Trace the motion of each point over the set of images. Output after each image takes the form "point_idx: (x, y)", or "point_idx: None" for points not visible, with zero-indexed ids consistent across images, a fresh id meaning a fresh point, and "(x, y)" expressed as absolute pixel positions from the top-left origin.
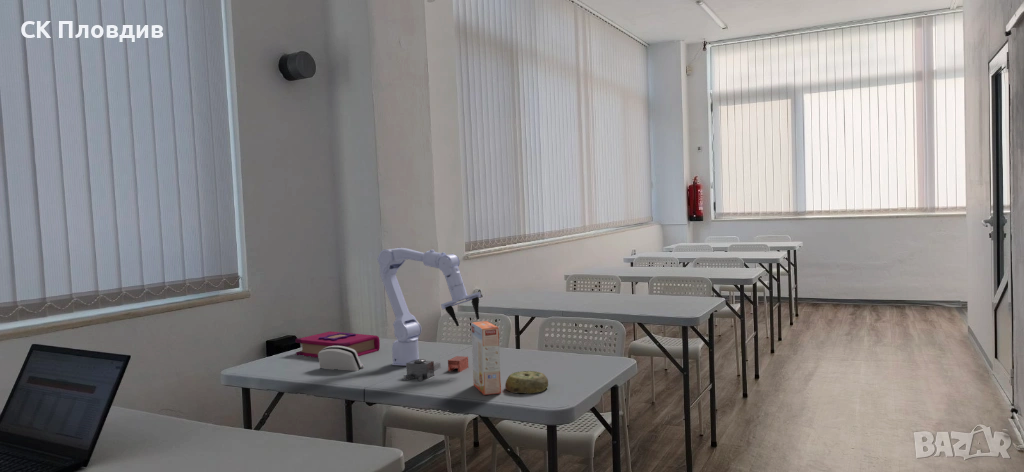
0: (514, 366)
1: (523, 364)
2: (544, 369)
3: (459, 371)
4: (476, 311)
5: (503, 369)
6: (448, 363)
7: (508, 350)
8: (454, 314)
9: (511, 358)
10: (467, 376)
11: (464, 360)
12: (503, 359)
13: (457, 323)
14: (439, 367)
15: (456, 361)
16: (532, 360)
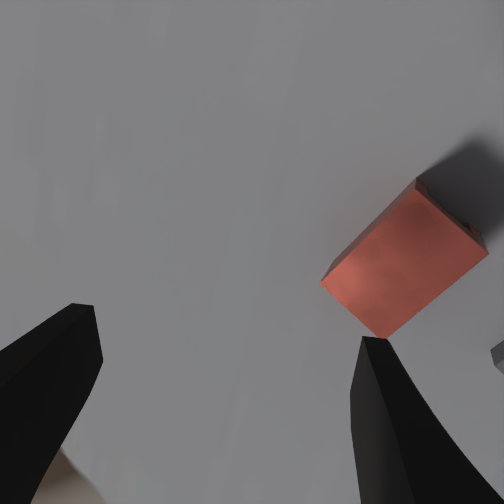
0: (115, 154)
1: (74, 173)
2: (5, 17)
3: (419, 180)
4: (11, 365)
5: (175, 114)
6: (483, 244)
7: (91, 453)
8: (418, 479)
9: (102, 317)
10: (413, 27)
11: (359, 242)
12: (136, 321)
13: (380, 356)
14: (502, 343)
15: (433, 204)
16: (31, 229)
